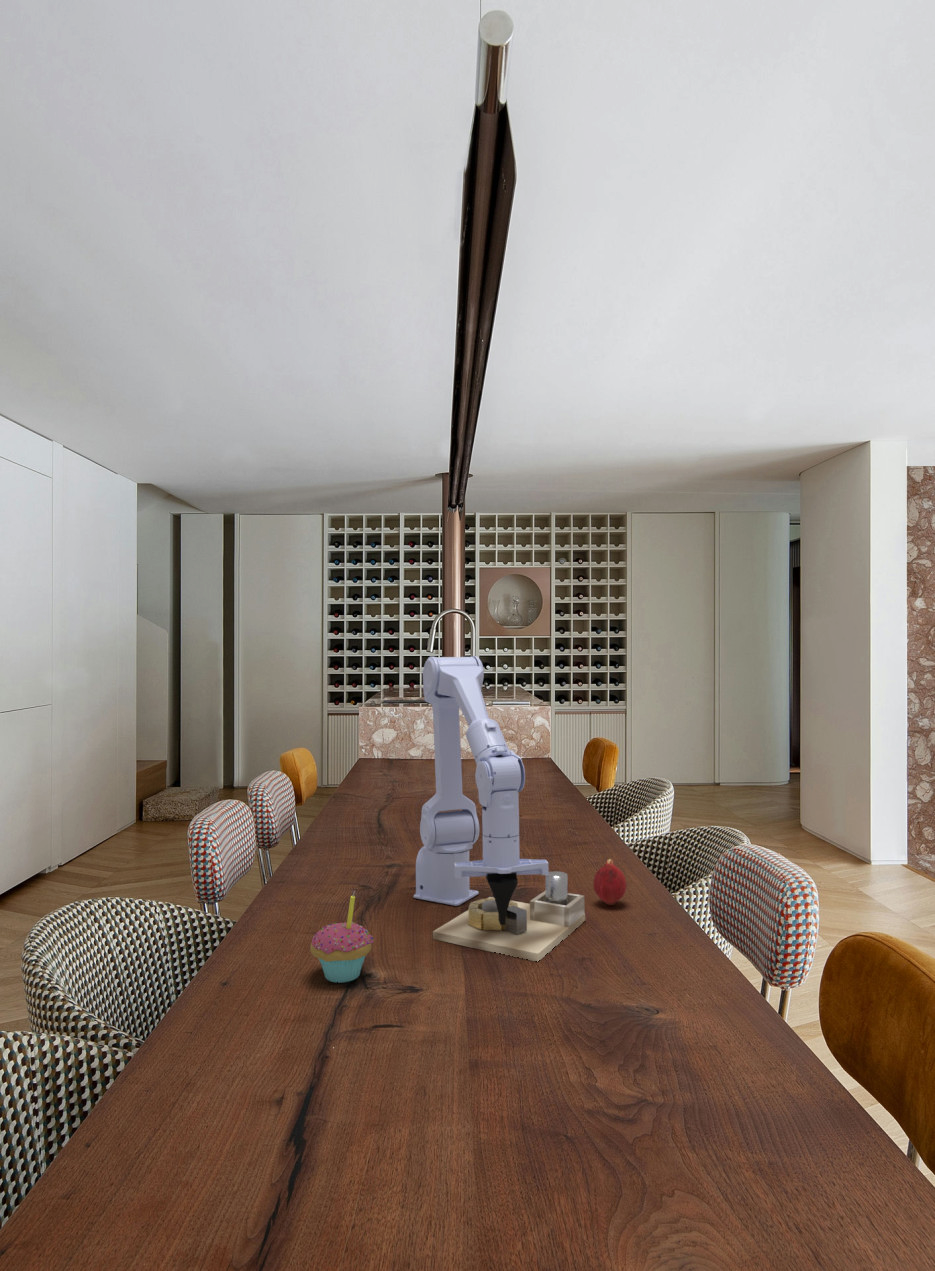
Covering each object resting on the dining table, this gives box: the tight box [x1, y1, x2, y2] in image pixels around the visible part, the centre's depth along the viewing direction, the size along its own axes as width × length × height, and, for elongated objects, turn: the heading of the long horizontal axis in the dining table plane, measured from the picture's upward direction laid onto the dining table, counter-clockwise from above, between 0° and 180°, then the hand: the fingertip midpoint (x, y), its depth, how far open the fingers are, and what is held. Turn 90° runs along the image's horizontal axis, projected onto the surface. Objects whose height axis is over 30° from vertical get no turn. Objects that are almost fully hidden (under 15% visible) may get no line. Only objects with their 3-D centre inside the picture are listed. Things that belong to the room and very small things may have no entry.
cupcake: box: [309, 890, 374, 984], centre depth 107 cm, size 9×8×12 cm
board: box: [432, 889, 586, 963], centre depth 124 cm, size 18×19×4 cm
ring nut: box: [468, 897, 527, 934], centre depth 123 cm, size 8×10×3 cm
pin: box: [545, 870, 569, 906], centre depth 126 cm, size 4×4×7 cm
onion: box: [592, 858, 627, 906], centre depth 135 cm, size 6×6×8 cm
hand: (502, 922), depth 119 cm, fingers closed, pressing on ring nut
